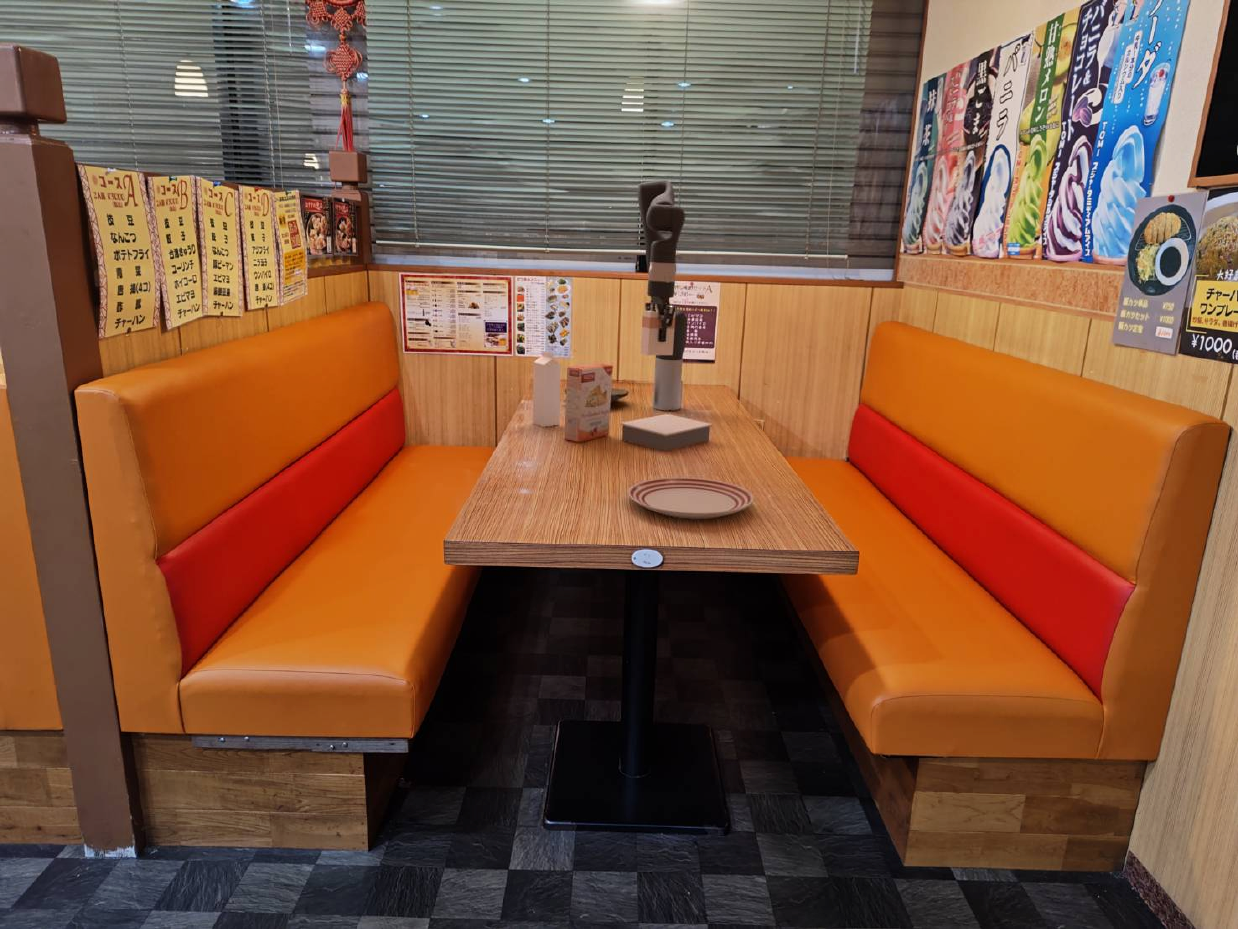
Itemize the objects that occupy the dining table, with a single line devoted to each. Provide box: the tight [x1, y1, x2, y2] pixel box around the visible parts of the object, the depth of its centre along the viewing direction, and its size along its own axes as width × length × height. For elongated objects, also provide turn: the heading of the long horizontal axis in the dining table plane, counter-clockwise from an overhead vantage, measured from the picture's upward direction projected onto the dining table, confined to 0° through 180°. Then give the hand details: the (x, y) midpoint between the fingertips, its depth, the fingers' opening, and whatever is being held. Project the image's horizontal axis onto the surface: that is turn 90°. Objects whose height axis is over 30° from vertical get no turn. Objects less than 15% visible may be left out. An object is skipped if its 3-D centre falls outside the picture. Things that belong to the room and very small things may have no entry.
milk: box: [532, 350, 562, 428], centre depth 248 cm, size 6×6×22 cm
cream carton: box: [640, 310, 675, 356], centre depth 234 cm, size 5×8×12 cm, turn 115°
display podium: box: [619, 413, 713, 452], centre depth 236 cm, size 21×17×5 cm
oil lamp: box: [564, 387, 630, 403], centre depth 287 cm, size 22×30×8 cm
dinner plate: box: [627, 476, 755, 520], centre depth 180 cm, size 27×27×3 cm
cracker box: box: [563, 362, 614, 443], centre depth 233 cm, size 14×6×21 cm, turn 143°
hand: (657, 340), depth 234 cm, fingers closed on cream carton, 4 cm apart
